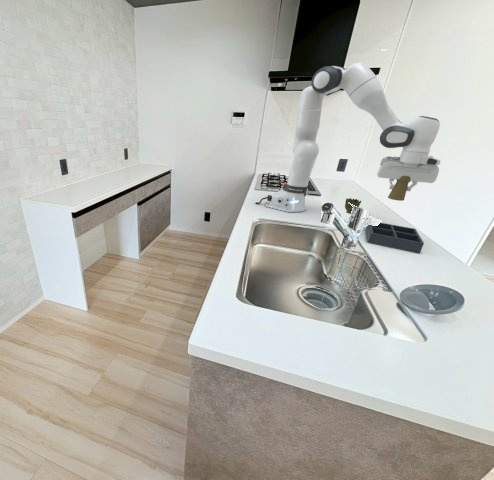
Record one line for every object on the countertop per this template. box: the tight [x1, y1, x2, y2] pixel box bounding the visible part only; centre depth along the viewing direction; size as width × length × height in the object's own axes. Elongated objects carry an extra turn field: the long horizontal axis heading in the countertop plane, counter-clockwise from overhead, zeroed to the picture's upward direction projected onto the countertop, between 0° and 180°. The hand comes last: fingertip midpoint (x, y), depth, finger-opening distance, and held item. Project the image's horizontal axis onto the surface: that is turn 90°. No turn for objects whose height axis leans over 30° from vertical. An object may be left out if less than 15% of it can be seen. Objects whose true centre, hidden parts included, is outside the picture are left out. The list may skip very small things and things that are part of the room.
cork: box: [387, 176, 411, 202], centre depth 116 cm, size 6×6×11 cm
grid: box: [365, 222, 425, 254], centre depth 117 cm, size 18×18×5 cm
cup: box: [344, 197, 362, 215], centre depth 148 cm, size 8×7×8 cm
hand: (399, 189), depth 117 cm, fingers closed on cork, 4 cm apart
